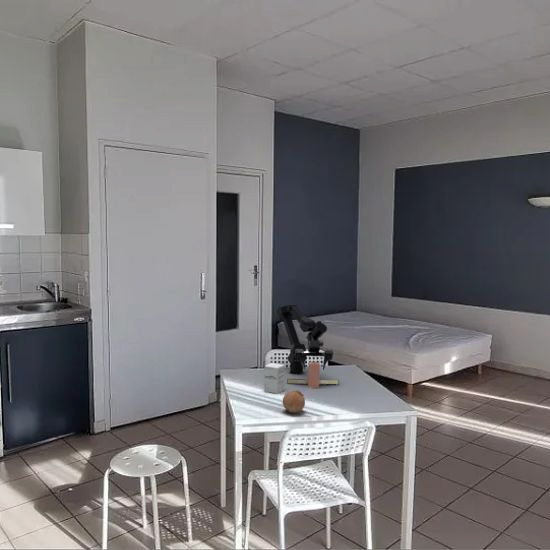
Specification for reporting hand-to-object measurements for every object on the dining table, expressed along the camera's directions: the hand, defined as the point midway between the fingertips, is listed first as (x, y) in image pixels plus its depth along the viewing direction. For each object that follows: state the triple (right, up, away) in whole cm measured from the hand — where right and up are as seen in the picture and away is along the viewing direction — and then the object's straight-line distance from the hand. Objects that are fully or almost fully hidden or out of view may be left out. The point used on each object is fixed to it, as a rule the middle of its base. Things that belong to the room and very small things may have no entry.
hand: (314, 369), depth 252 cm
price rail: (0, -9, +7) cm, 11 cm away
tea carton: (0, -9, +2) cm, 9 cm away
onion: (-11, -12, -34) cm, 38 cm away
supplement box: (-20, -9, -6) cm, 23 cm away
